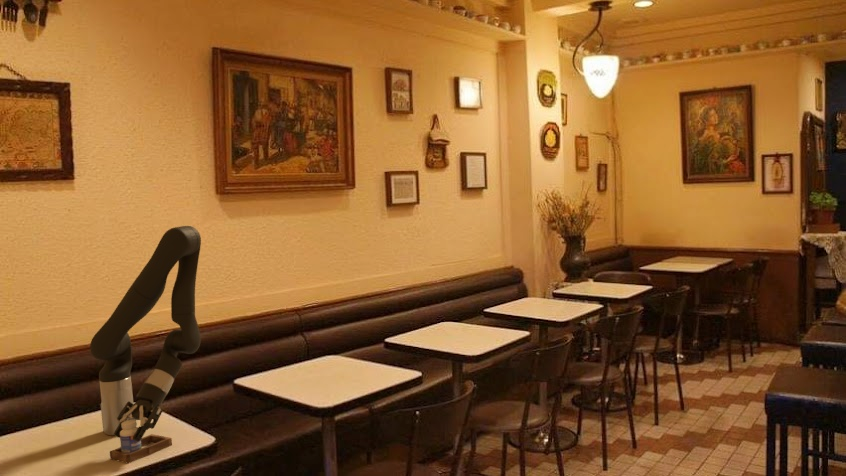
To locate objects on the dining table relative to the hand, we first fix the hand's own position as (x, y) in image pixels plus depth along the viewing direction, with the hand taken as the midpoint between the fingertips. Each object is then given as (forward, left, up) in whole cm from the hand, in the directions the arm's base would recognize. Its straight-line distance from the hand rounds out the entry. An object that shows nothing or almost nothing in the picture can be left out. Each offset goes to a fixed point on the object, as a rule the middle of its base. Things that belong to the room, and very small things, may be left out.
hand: (126, 438), depth 200 cm
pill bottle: (0, +2, -6) cm, 6 cm away
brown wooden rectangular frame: (0, +5, -6) cm, 7 cm away
